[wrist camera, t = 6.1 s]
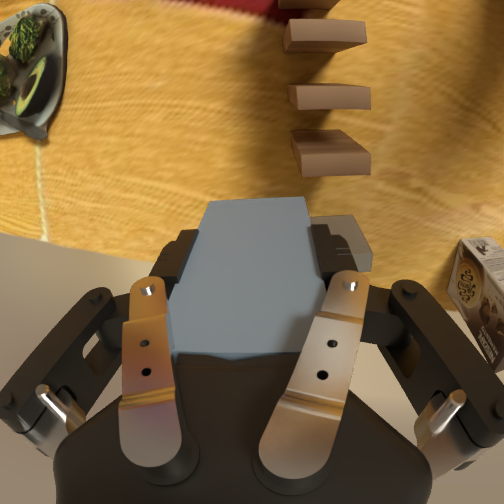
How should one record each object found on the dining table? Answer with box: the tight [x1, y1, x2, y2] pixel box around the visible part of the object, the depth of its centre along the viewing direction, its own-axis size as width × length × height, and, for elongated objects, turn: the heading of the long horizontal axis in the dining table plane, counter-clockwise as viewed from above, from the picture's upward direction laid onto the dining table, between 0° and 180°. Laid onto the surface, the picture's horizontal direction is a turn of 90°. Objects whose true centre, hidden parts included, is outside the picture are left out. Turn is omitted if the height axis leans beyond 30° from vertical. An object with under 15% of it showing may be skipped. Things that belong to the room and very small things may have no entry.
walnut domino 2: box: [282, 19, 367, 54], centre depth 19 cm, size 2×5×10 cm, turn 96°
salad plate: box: [0, 3, 68, 140], centre depth 22 cm, size 19×18×5 cm
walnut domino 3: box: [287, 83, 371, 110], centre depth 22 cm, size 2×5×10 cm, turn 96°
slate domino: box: [169, 197, 326, 363], centre depth 12 cm, size 2×5×10 cm, turn 95°
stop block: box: [309, 215, 373, 272], centre depth 30 cm, size 2×8×8 cm, turn 96°
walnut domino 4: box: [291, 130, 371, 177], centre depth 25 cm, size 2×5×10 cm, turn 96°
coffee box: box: [447, 237, 504, 373], centre depth 29 cm, size 9×6×16 cm
